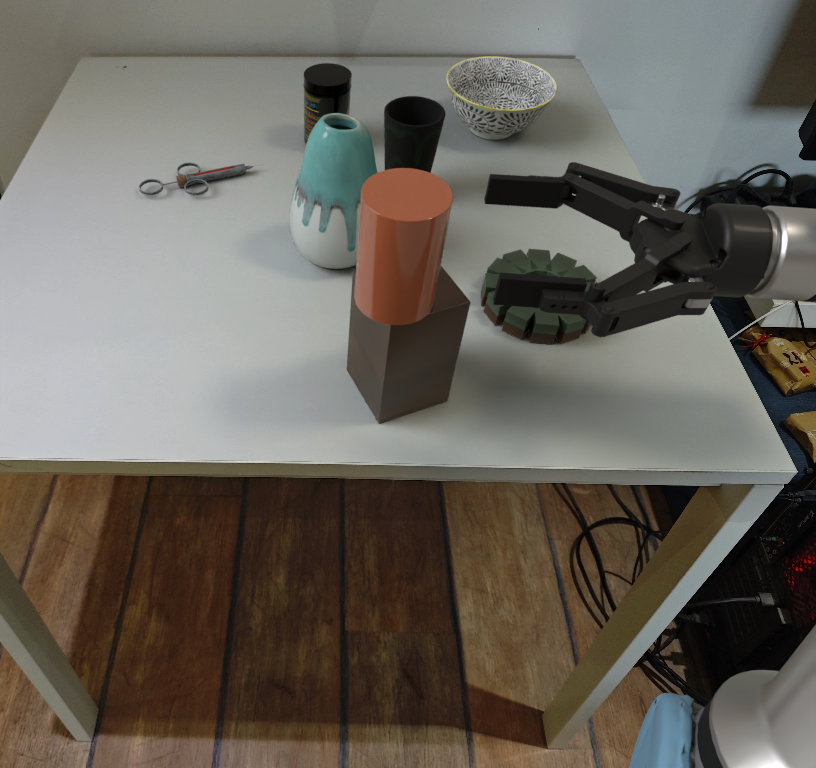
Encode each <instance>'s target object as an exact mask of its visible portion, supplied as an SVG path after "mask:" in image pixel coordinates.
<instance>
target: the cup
mask: <svg viewBox="0 0 816 768" xmlns="http://www.w3.org/2000/svg"><path fill="white" fill-rule="evenodd" d="M445 118H446V110H445V108H444V106H443V105H442V104H440V103H439V102H438V101H436V100H434V99H431V98H429V97H424V96H418V95H407V96H400V97H397V98H394V99H392V100H390V101H389V102H388V103H386V105H385V106H384V110H383V123H384V125H383V129H384V130H383V132H384V133H383V135H384V136H383V137H384V138H383V139H384V140H383V141H384V142H383V143H384V144H383V146H384V151H383V152H384V170H388V169H394V168H412V169H418V170H423V171H426V172H429V173H432V169H433V165H434V162H435V157H436V154H437V150H438V146H439V142H440V140H441V139H440V138H441V135H442V131H443V130H442V129H443V127H444V123H445Z"/></svg>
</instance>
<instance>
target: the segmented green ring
mask: <svg viewBox="0 0 816 768" xmlns="http://www.w3.org/2000/svg"><path fill="white" fill-rule="evenodd" d="M577 262H578V260H577V259H575V258H572V257H570V256H567V255H565V254H562V253H561V252H557V253H556V254H555V255H554V256H553V257H552V258H551V251H550V250H549V249H538V248H528V250H527V253H525V252H524V251H523V250H522V249H517V250H514V251H510V252H507V253H503V254H502V258H500V257H496V259H495V260H494V261H493V262H492V263H491V264H490V265H489V266H488V267H487V268H486V272H485V273H484V277H483V281H482V285H481V290H480V305H481V307H484V309H483V313H484V314H485V315H486V317H487V318H488V319H489V320H490V321H491V323H492V324H493V325H494V326H496V327H497V326H499V325H502V327H501V331H502V332H504V333H506V334H508V335H510V336H512V337H514V338H516V339H519V340H523V338H524V337H525V336H526V335H527V334H528V337H529V343H532V344H543V345H551V346H552V345H553V344H554V341H555V339H556V340H557V341H558V342H559V343H560V344H564V343H567V342H570V341H573V340H577V339H579V338H580V336H581V334H584V335H585V334H587V332H588V331H589V330H590V328H592V325H591V323H590V322H589V321H588V320H585V319H583V318H582V317H581V316H580V315H574V314H560V313H547V312H544V311H541V310H540V308H533V307H519V306H505V305H494V302H493V297H494V293H495V289H496V286H497V282H498V278H499V274H500V272H501V273H515V274H530V275H544V276H558V277H573V278H586V282H587V286H586V289H585V291H588V290H589V287H590V285H591V282H592V281H593V280H594V283H593V285H595V283H596V282H597V278H598V277H597V276H596V275H595V274H594V273H593V272H592V271H591V270H590V269H589V268H588V267H587V266H586V265H585V264H581V265H579V266H576V265H577Z"/></svg>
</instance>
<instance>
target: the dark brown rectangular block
mask: <svg viewBox="0 0 816 768" xmlns="http://www.w3.org/2000/svg"><path fill="white" fill-rule="evenodd" d="M355 275H356V268H355V269H353V270H352V277H351V278H352V279H351V292H350V309H349V325H348V326H349V327H348V341H347V355H346V356H347V357H346V372H347V373H348V375H349V376H350V378H351V380H352V381H353V383H354V385H355V386H356V388H357V390H358V391H359V393H360V395H361V396H362V398H363V400H364V402H365V403H366V405H367V406H368V408H369V410H370V412H371V413H372V415H373V416H374V419H375V420H376V422H377V424H382V423H386V422H388V421H391V420H394V419H398V418H400V417H403V416H407V415H409V414H412V413H415V412H418V411H422V410H425V409H427V408H430V407H433V406H436V405H439V404H443V403H446V402H448V401H449V397H450V393H451V388H452V384H453V379H454V375H455V372H456V366H457V362H458V358H459V354H460V350H461V346H462V342H463V338H464V333H465V327H466V325H467V320H468V315H469V311H470V307H471V303H472V302H471V300H470V299H469V298H468V296H467V295H466V294H465V293H464V292H463V290H462V289H461V288H460V287H459V286H458V284H457V283H456V282H455V280H454V279H453V278H452V277H451V276H450V274H449V273H448V272H447V271H446V270H445V268H444V267H443V266H442V265H441V268H440V274H439V279H438V285H437V290H436V296H435V301H434V305H433V308H432V310H431V311H430V313H429V314H428V315H427V316H426V317H424V318H423V319H421V320H419V321H417V322H414V323H411V324H406V325H388V324H383V323H380V322H377V321H374V320H372V319H370V318H369V317H367V316H366V315H364V314H363V313H362V312H361V311H360V310H359V308H358V307H357V305H356V303H355V299H354V290H355Z"/></svg>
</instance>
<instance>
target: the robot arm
mask: <svg viewBox="0 0 816 768" xmlns="http://www.w3.org/2000/svg"><path fill="white" fill-rule="evenodd" d="M680 196H681V191H680V190H679V189H677V188H673V187H667V186H665V187H664V186H657V185H651V184H649V183H646V182H645V183H644V182H641V181H638V180H635V179H632V178H628V177H625V176H622V175H619V174H615V173H612V172H609V171H606V170H602V169H599V168H596V167H593V166H589V165H585V164H583V163H579V162H576V161H571V162H568V165H567V168H566V169H565V172H564V174H563V175H561V176H551V175H549V176H548V175H534V174H533V175H532V174H531V175H514V174H498V173H489V177H488V181H487V186H486V191H485V195H484V205H492V206H493V205H494V206H511V207H523V208H541V209H558V208H560V207H562V206H563V205H564V206H567V207H568V208H571V209H573V210H575V211H576V212H579V213H580V214H583V215H585V216H586V217H589V218H591V219H593V220H595V221H597V222H599V223H600V224H603V225H605V226H607V227H608V228H610V229H613V230H615V231H616V232H617V233H619V236H620V238H621V239H622V240H623V241H626V242H628V245H629V247H630V249H631V251H632V252H633V254H634V258H633V261H634V263H632V264H630V265H629V266H626V267H625V268H623V269H622V270H620V271H618V272H616V273H614V274H613V275H610V276H609V277H607V278H605V279H603V280H602V281H600V282H597V281H595V285H593V283H594V280H593V281H592V282H591V285H590V287H589V290H588V291H585V289H586V286H587V282H586V278H573V277H558V276H544V275H530V274H515V273H501V272H500V274H499V278H498V282H497V286H496V289H495V293H494V297H493V302H494V305H505V306H519V307H533V308H540V310H541V311H544V312H547V313H560V314H574V315H580V316H581V317H582V318H583V319H585V320H588V321H589V322H590V323H591V330H590V331H591V333H592V335H594V336H595V337H597V338H606V337H608V336H612V335H616V334H619V333H623V332H626V331H629V330H633V329H636V328H640V327H643V326H646V325H649V324H654V323H656V322H660V321H663V320H666V319H667V320H668V319H670V318H674V317H678V316H702V315H704V314H705V313H706V311H707V310H708V308H709V306H710V304H711V302H712V301H713V299H714V297H723V298H742V297H745V296H746V297H748V298H749V299H762V300H777V301H788V302H789V301H790V302H791V301H792V302H803V303H813V304H814V303H815V304H816V208H810V207H809V208H808V207H796V206H795V207H793V206H782V205H781V206H780V205H767V206H764V207H761V206H760V205H755V204H739V203H723V202H719V203H713V204H711V205H709V206H707V207H706V208H704V209H703V210H701V211H698V212H697V213H689V212H685V211H682V210H679V209H678V206H677V203H678V201H679V199H680ZM642 217H644V218H645V219H643V220H641V218H642ZM664 283H670V284H669V285H665V286H663V287H659V288H656V287H658V286H660V285H662V284H664ZM655 288H656V289H655ZM632 751H633V752H632V754H631V755H632V756H631V758H630V762H629V766H628V768H816V624H815V625H814V626H813V627H812V629H811V630H810V631H809V632H808V634H807V635H806V637H804V638H803V640H802V641H801V643H800V644H799V645H798V647H797V648H796V649H795V651H794V652H793V653H792V654H791V656H790V657H789V658H788V660H786V662H784V664H783V666H782V667H781V668H780V669H779V670H770V669H756V670H755V669H754V670H748V671H743V672H739V673H737V674H734V675H733V676H731V677H729V678H728V679H726V680H725V681H724V682H723V683H722V684H721V685H720V686H719V688H718V689H717V690H716V692H715V693H714V694H713V696H712V697H711V699H710V700H709V702H708V703H707V704H706V705H705V706H704V705H701V704H699V703H697V702H695V698H692V697H691V696H690V695H688V694H685V695H681V694H678V693H673V692H664V693H660V694H659V695H658V696H656V697H655V698H654V700H653V701H652V702H651V704H650V706H649V708H648V710H647V712H646V714H645V716H644V719H643V721H642V724H641V727H640V729H639V731H638V735H637V738H636V742H635V744H634V748H633V750H632Z"/></svg>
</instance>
